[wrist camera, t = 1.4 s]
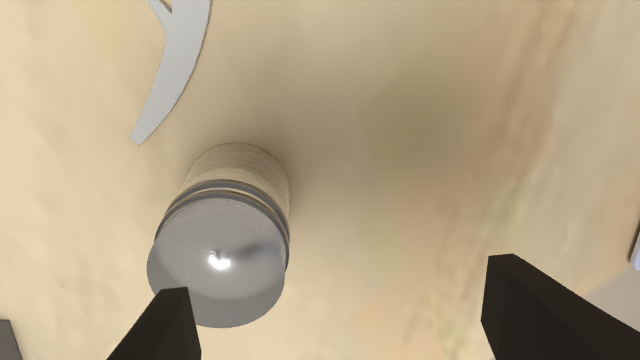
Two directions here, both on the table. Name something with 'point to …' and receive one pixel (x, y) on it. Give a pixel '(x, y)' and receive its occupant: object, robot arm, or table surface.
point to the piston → (226, 236)
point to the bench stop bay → (8, 342)
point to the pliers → (173, 59)
